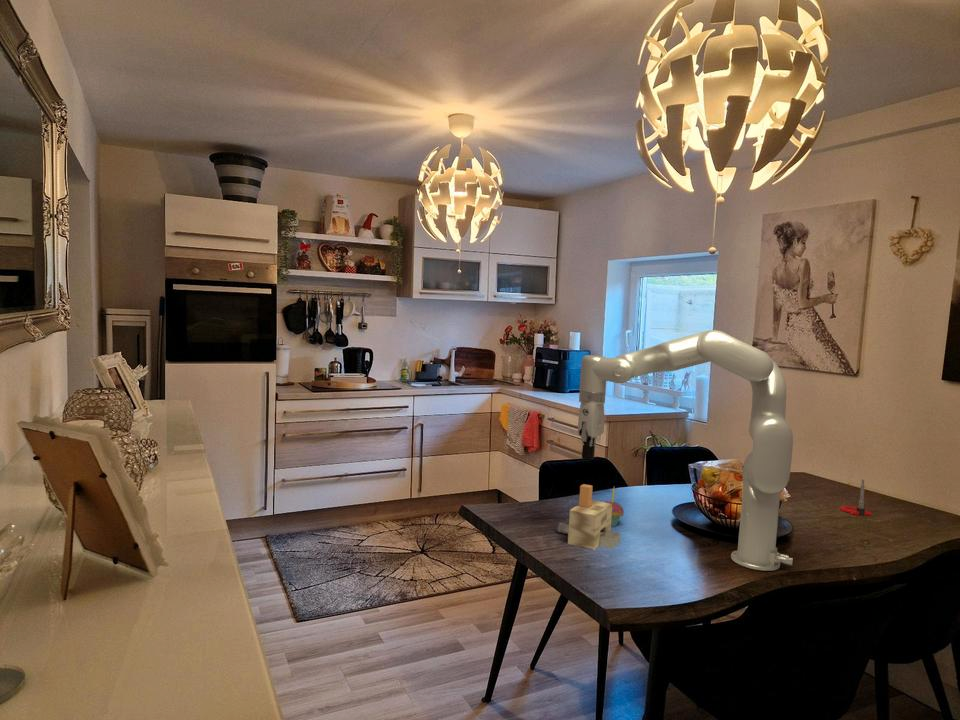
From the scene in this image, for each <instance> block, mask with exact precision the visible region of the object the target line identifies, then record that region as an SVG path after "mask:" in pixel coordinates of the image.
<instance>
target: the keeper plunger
mask: <svg viewBox="0 0 960 720" xmlns="http://www.w3.org/2000/svg"><path fill="white" fill-rule="evenodd" d="M593 487H594V486H593V485H591V484H585V483H583V484H581V485H580V486H579V501H578V505H579V506H580V507H585V508H590V507H591V504H592V500H593Z"/></svg>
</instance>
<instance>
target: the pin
mask: <svg viewBox="0 0 960 720" xmlns="http://www.w3.org/2000/svg"><path fill="white" fill-rule="evenodd" d="M568 532H569V523H568V524H567V523H563V522H559V524H558V525H557V533H558V534H561V535H562V534H563V535H567V536H568ZM620 536H621V532H616V531H608V530H607V531H606V532H604V533H603V532H600V544H599V546H600V547H604V548H607V549H612V550H613V549H615V548H616V547H617V546H618V545H620V543H621V542H620V541H621V537H620Z"/></svg>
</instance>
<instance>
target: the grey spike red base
mask: <svg viewBox="0 0 960 720" xmlns="http://www.w3.org/2000/svg"><path fill="white" fill-rule="evenodd" d="M864 497H865V479H861V483H860V489H859V501H858V507H856V506H851V505H850V506H849V505H841V506H839V510H840V509H841V510H840V511H842V512H846V513H849V514H850V515H851V514H852V515H853V516H863V515H864V516H868V515H869V516H871V515H872V513H871V511H867V509H866V508H864V506H865V505H864V504H865V501H864V499H865V498H864ZM853 509H855V510H853ZM869 516H868V517H869Z"/></svg>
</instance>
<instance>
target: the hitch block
mask: <svg viewBox="0 0 960 720" xmlns="http://www.w3.org/2000/svg"><path fill="white" fill-rule="evenodd" d="M611 518H612V504H610V503H605V501H600V500H594V499H592V504H591V507H590V508H585V507H580V506H579V504H577V505H576V506H574V507H572V508H571V509H570V510H569V517H568V519H569V521H568V525H569V532H568V535H567V544H568V545H571V546H575V547H579V548H583V549H588V550H592V551H595V550H596V549H598V548H599V546H600V532H603V533H604V532H606V531H607V530H608V531H611V530H612V526H611Z"/></svg>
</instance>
